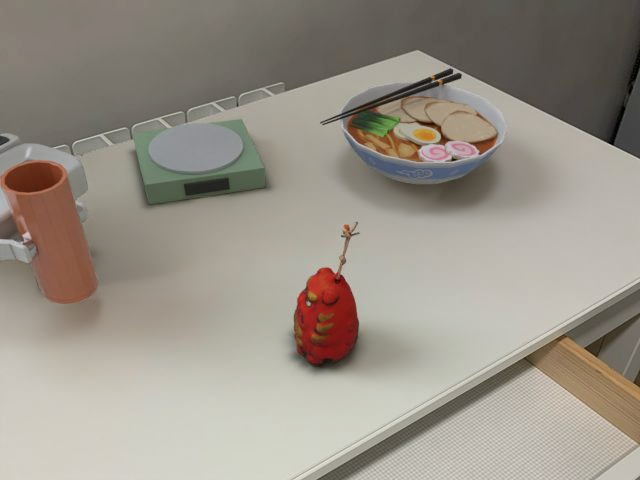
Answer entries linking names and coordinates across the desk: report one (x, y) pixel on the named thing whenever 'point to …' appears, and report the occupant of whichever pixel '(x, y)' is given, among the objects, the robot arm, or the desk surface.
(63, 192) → the cup
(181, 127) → the scale
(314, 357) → the red clay folk toy
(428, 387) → the desk surface
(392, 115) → the ramen bowl
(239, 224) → the desk surface
